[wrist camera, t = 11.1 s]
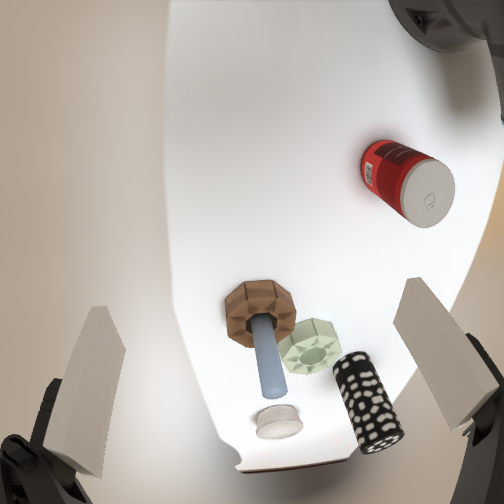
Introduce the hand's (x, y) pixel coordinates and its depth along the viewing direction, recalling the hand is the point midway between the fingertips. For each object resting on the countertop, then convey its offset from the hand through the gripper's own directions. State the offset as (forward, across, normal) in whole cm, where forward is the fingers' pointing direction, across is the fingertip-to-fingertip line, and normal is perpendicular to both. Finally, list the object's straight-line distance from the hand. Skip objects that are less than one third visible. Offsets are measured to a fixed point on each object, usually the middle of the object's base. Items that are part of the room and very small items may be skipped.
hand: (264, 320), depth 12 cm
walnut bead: (+26, +2, -22) cm, 34 cm away
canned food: (+27, +20, -1) cm, 33 cm away
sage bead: (+26, +11, -32) cm, 42 cm away
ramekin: (+26, +6, -58) cm, 64 cm away
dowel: (+26, +2, -22) cm, 34 cm away
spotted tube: (+26, +22, -42) cm, 54 cm away
